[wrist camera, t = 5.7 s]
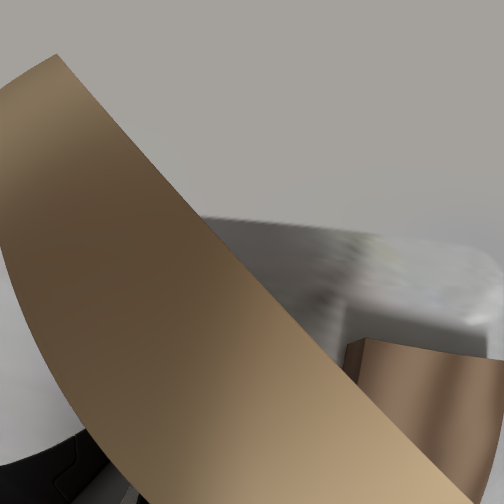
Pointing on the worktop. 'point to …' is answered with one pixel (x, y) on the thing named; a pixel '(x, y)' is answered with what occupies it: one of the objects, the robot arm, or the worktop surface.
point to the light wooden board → (176, 328)
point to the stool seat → (436, 404)
